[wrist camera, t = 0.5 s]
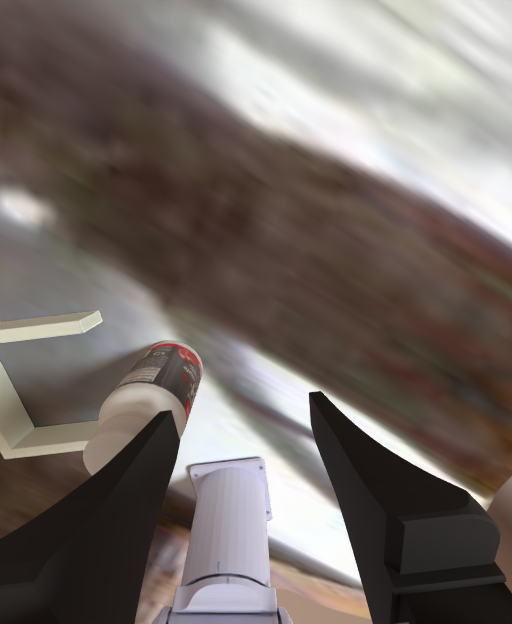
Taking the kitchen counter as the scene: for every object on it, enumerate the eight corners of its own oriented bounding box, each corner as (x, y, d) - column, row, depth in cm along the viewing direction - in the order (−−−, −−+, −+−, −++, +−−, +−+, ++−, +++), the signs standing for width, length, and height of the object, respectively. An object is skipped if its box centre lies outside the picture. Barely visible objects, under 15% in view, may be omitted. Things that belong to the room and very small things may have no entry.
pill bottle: (213, 380, 23) (188, 483, 13) (161, 397, 23) (101, 508, 14) (189, 330, 21) (141, 408, 12) (133, 349, 21) (44, 440, 12)
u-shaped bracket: (137, 423, 24) (125, 445, 21) (28, 436, 24) (4, 459, 21) (99, 310, 20) (79, 320, 18) (-31, 325, 20) (-68, 338, 18)
